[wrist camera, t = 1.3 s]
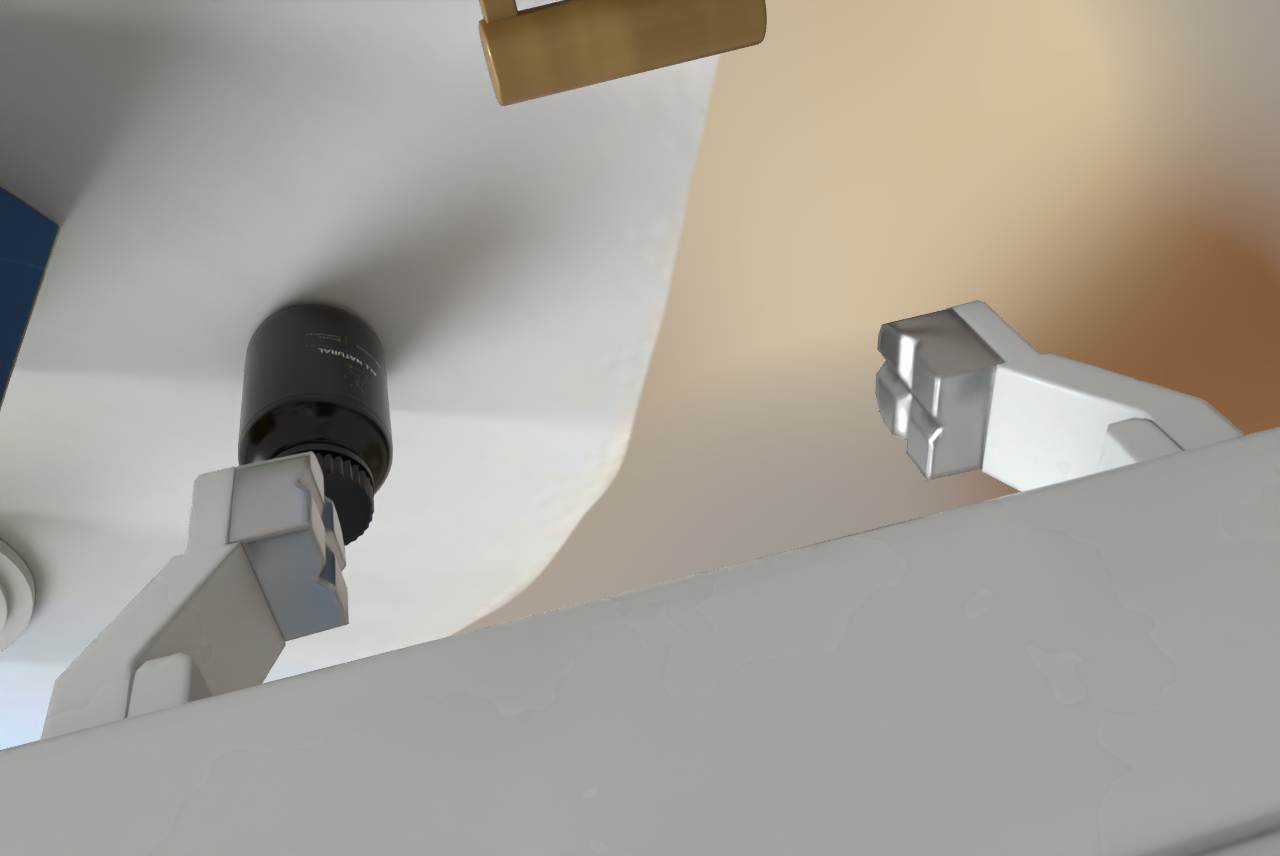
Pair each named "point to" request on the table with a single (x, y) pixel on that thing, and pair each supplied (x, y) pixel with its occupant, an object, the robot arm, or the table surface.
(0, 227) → the protein box
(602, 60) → the chest lid
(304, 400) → the supplement bottle
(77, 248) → the table surface
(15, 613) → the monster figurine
